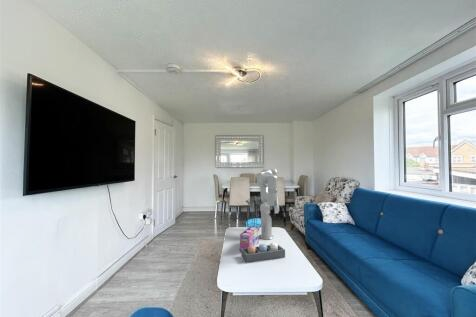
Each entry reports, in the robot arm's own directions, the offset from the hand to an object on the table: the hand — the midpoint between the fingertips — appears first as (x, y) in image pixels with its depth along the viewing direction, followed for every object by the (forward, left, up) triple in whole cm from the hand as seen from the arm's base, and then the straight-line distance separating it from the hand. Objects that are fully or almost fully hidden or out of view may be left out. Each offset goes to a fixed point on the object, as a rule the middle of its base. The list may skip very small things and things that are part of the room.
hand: (272, 214), depth 177 cm
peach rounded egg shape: (+8, -21, -26) cm, 35 cm away
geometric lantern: (-54, +6, -29) cm, 62 cm away
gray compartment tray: (+8, -12, -29) cm, 32 cm away
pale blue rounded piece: (+8, -12, -26) cm, 30 cm away
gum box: (-12, -15, -29) cm, 35 cm away
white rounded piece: (+8, -3, -26) cm, 28 cm away
